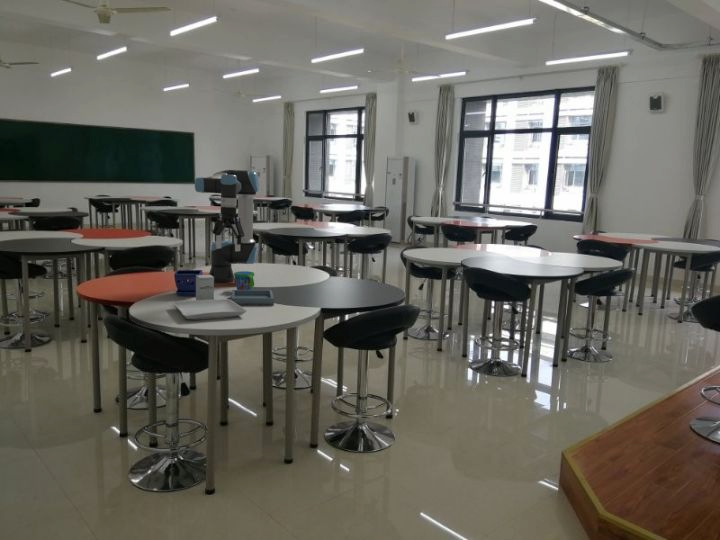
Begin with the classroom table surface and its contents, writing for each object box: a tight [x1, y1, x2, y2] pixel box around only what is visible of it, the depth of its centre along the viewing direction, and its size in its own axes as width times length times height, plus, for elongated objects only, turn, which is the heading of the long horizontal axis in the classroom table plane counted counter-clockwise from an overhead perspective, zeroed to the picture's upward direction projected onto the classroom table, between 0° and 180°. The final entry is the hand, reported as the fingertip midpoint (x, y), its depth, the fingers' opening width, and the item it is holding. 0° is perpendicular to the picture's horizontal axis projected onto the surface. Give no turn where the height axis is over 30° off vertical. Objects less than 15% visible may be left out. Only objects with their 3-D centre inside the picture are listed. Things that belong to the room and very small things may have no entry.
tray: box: [231, 289, 275, 306], centre depth 275 cm, size 20×20×4 cm
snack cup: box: [233, 270, 255, 290], centre depth 297 cm, size 16×10×10 cm
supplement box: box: [195, 274, 215, 300], centre depth 268 cm, size 7×7×13 cm
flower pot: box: [174, 269, 203, 297], centre depth 282 cm, size 13×13×12 cm
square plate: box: [171, 298, 247, 321], centre depth 247 cm, size 27×27×4 cm
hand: (228, 249), depth 271 cm, fingers open, 13 cm apart
